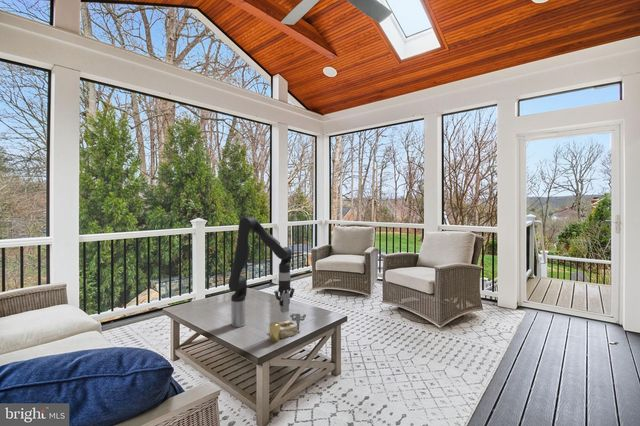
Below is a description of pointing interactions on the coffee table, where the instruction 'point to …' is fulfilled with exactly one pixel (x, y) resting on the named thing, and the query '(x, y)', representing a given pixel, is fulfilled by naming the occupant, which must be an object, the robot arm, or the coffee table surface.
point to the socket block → (287, 329)
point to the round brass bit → (274, 332)
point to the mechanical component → (298, 318)
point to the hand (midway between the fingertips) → (284, 305)
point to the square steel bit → (285, 303)
